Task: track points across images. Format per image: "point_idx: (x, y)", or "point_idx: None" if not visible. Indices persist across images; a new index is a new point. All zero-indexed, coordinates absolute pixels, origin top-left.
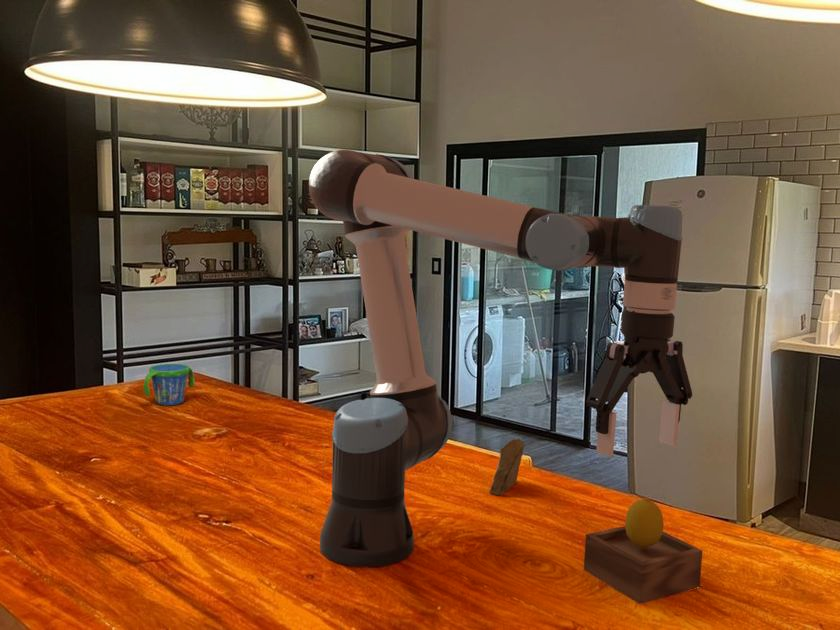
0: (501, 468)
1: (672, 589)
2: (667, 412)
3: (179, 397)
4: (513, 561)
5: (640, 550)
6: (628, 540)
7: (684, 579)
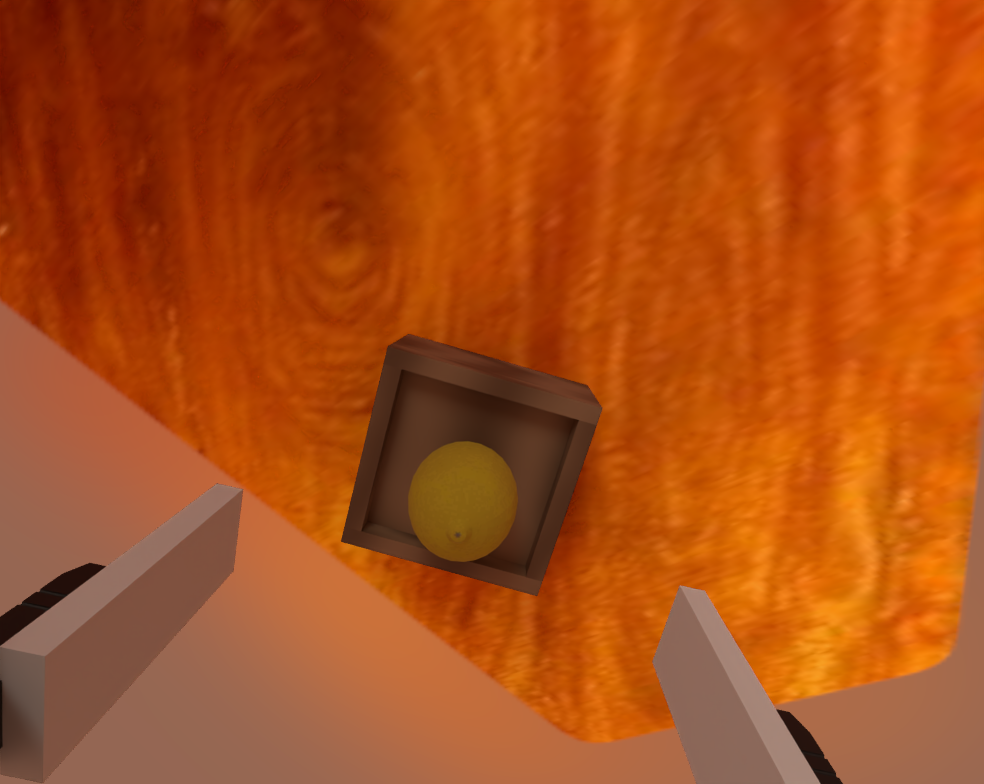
0: None
1: None
2: (739, 782)
3: None
4: (305, 183)
5: None
6: (494, 415)
7: None
